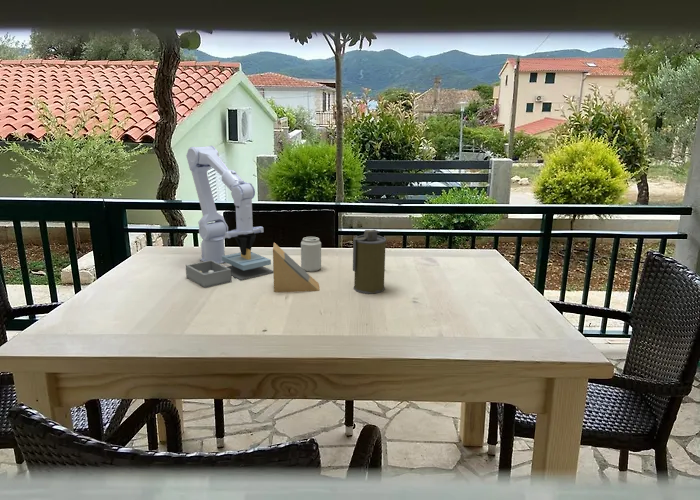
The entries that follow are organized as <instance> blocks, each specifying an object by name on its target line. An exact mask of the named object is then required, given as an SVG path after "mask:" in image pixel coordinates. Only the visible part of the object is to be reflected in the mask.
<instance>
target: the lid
mask: <svg viewBox="0 0 700 500" xmlns="http://www.w3.org/2000/svg"><path fill="white" fill-rule="evenodd" d="M222 261H223V262H225V263H226V264H228V265H229V266H234V267H237V268H239V269H241V270H243V271H244V270H248V269H253V268H257V267H262V266H263V267H266V266H271V265H272V259H270V258H268V257H265V256H262V255H260V254H258V253H254V252H253V251H252V249H251V250H250V249H247V248H246V255H242V254H241V251H240V252H236V253H235V252H234V253H231V254H225V255H224V256H222Z"/></svg>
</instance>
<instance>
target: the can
mask: <svg viewBox="0 0 700 500" xmlns="http://www.w3.org/2000/svg"><path fill="white" fill-rule="evenodd" d="M300 259H301V260H300V267H301V268H302V269H303V270H305V271H306V272H310V273H313V272H317V271H319V270H320V269H321V268H322V242H321V240H320V238H319V237H316V236H306V237H303V238H302V240H301V242H300Z"/></svg>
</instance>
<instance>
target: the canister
mask: <svg viewBox="0 0 700 500" xmlns="http://www.w3.org/2000/svg"><path fill="white" fill-rule="evenodd" d="M378 234H380V231H378V230H377V229H365V230H364V233H363V234H361V235H358V236H356V237H354V238H353V239H352V240H353V241H352V242H353V243H352V246H353V247H352V271H353V272H354V282H353V283H354V284H353V289H354V291H356V292H358V293H360V294H368V295H369V294H370V295H372V294H380V293H381V292H383V291H384V290H385V288H386V287H385V271H386V269H385V268H386V267H385V266H386V246H387V245H386V243H387V238H386V237H384V236H381V235H378Z"/></svg>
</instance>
